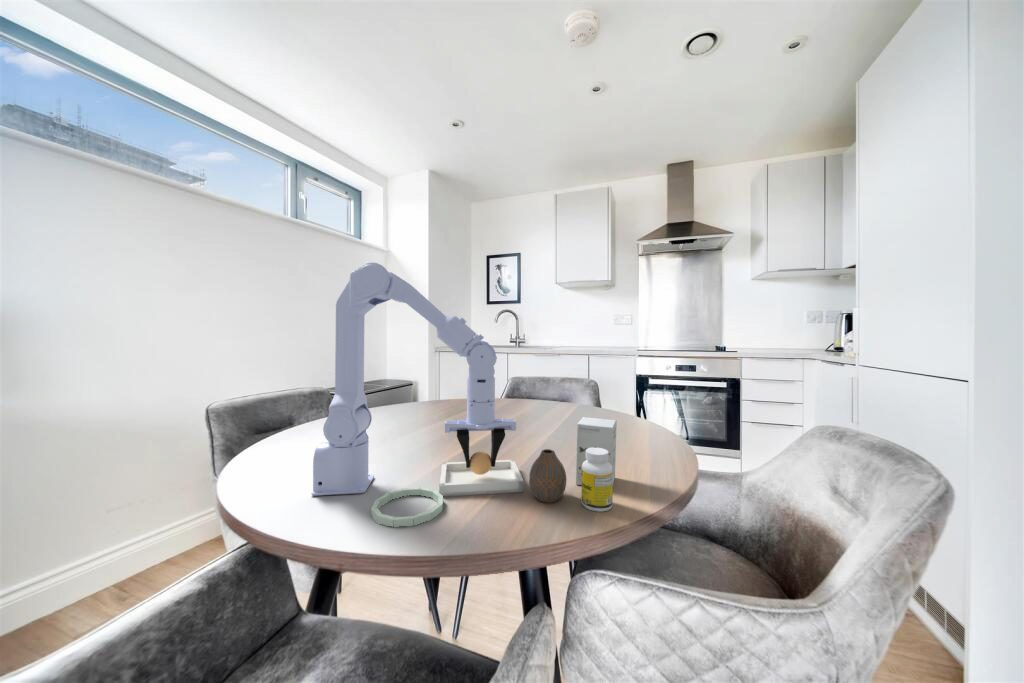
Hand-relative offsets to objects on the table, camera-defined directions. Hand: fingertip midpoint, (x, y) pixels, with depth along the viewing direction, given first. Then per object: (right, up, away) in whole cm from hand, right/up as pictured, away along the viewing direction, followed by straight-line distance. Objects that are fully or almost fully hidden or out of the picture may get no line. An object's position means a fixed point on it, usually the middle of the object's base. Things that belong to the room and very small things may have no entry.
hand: (480, 465), depth 73 cm
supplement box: (+24, -4, +1) cm, 24 cm away
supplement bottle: (+22, -4, -10) cm, 24 cm away
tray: (0, -3, 0) cm, 3 cm away
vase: (+13, -4, -7) cm, 15 cm away
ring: (-11, -3, -12) cm, 17 cm away
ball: (0, +1, 0) cm, 1 cm away
